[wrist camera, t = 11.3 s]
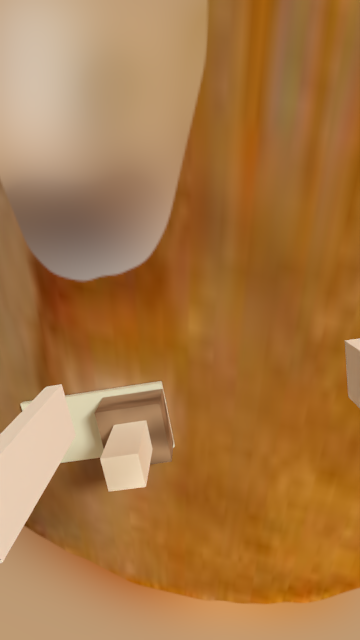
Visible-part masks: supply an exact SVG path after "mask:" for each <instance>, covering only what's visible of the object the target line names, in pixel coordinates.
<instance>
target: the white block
mask: <svg viewBox="0 0 360 640" xmlns="http://www.w3.org/2000/svg"><path fill="white" fill-rule="evenodd" d="M152 450H153V449H152V444H151V440H150V435H149V431H148V426H147V422H146V420H145V421H138V422H131V423H124V424H117V425H114V426H113V428H112V431H111V433H110V436H109V438H108V441H107V443H106V446H105V448H104V450H103V453H102V455H101V458H100V461H101V464H102V468H103V472H104V476H105V479H106V483H107V487H108V491H117V490H125V489H132V488H140V487H146V483H147V477H148V472H149V466H150V461H151V455H152Z"/></svg>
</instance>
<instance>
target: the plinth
mask: <svg viewBox="0 0 360 640" xmlns="http://www.w3.org/2000/svg"><path fill="white" fill-rule="evenodd" d="M94 414H95V417H96V421H97V425H98V429H99V433H100V437H101V440H102V444H103V448H105V446H106V443H107V441H108V438H109V436H110V433H111V431H112V428H113V426H114V425H117V424H124V423H131V422H138V421H145V420H146V422H147V426H148V431H149V435H150V440H151V444H152V449H153V450H152V455H151V461H150V464H157V463H164V462H172V452H173V438H172V433H171V428H170V423H169V419H168V414H167V409H166V404H165V399H164V394H163V389H157V390H150V391H143V392H137V393H130V394H123V395H117V396H110V397H103V398H102V400H101V402H100V404H99V406H98V407H97V409H96V411H95V413H94Z"/></svg>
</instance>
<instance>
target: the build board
mask: <svg viewBox="0 0 360 640" xmlns="http://www.w3.org/2000/svg"><path fill="white" fill-rule="evenodd" d="M157 389H163V385H162V381H158V382H152V383H145V384H138V385H132V386H125V387H119V388H112V389H105V390H99V391H92V392H86V393H79V394H72V395H66V396H65V398H66V402H67V406H68V409H69V413H70V416H71V420H72V423H73V427H74V430H75V434H76V436H75V438H74V440H73V441H72V443H71V445H70V447H69V448H68V450H67V452H66V454H65V455H64V457H63V459H62V460H61V462H60V463H64V462H72V461H79V460H86V459H93V458H101V455H102V453H103V450H104V448H103V444H102V440H101V437H100V433H99V429H98V425H97V421H96V417H95V414H94V413H95V411H96V409H97V407H98V406H99V404H100V402H101V400H102V398H103V397H110V396H117V395H123V394H130V393H137V392H143V391H150V390H157ZM163 394H164V390H163ZM164 399H165V395H164ZM31 402H32V401H26V402H22V403H21V404H20V405H21V408H22V411H23V410H24V409H25V408H26V407H27V406H28V405H29V404H30V403H31ZM165 404H166V400H165ZM166 409H167V405H166ZM167 414H168V410H167ZM168 419H169V415H168ZM169 423H170V420H169ZM170 428H171V424H170ZM171 433H172V429H171ZM172 438H173V434H172ZM174 446H175V444H174V439H173V448H174Z"/></svg>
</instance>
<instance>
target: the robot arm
mask: <svg viewBox="0 0 360 640" xmlns="http://www.w3.org/2000/svg"><path fill="white" fill-rule="evenodd" d="M345 352H346V367H347V383H348V397H349V398H350V399H351V400H352V401H353V402H354V403H355V404H356V405H357V406H358V407H359V408H360V338H359V339H352V340H346V341H345ZM75 436H76V434H75V430H74V427H73V423H72V420H71V416H70V413H69V409H68V406H67V402H66V398H65V395H64V391H63V388H62V384H61V385H54V386H48V387H45V388H44V389H43V390H42V391H41V393H40V394H39V395H38V396H37V397H36V398H35V399H34V400H33V401H32V402H31V403H30V404H29V405H28V406H27V407H26V408H25V409H24V410H23V411H22V412H21V413H20V414H19V415H18V416H17V417H16V418H15V419H14V421H13V422H12V423H11V424H10V425H9V426H8V427H7V428H6V429H5V430H4V431H3V432H2V433H1V434H0V563H3V561H4V559H5V557H6V556H7V553H8V552H9V550H10V549H11V547H12V545H13V543H14V542H15V540H16V538H17V537H18V535H19V533H20V531H21V530H22V528H23V526H24V524H25V523H26V521H27V519H28V518H29V516H30V514H31V512H32V511H33V509H34V507H35V505H36V504H37V502H38V500H39V499H40V497H41V495H42V493H43V492H44V490H45V488H46V486H47V485H48V483H49V481H50V480H51V478H52V476H53V474H54V473H55V471H56V469H57V467H58V466H59V464H60V462H61V460H62V459H63V457H64V455H65V454H66V452H67V450H68V448H69V447H70V445H71V443H72V441H73V440H74V438H75Z"/></svg>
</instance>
